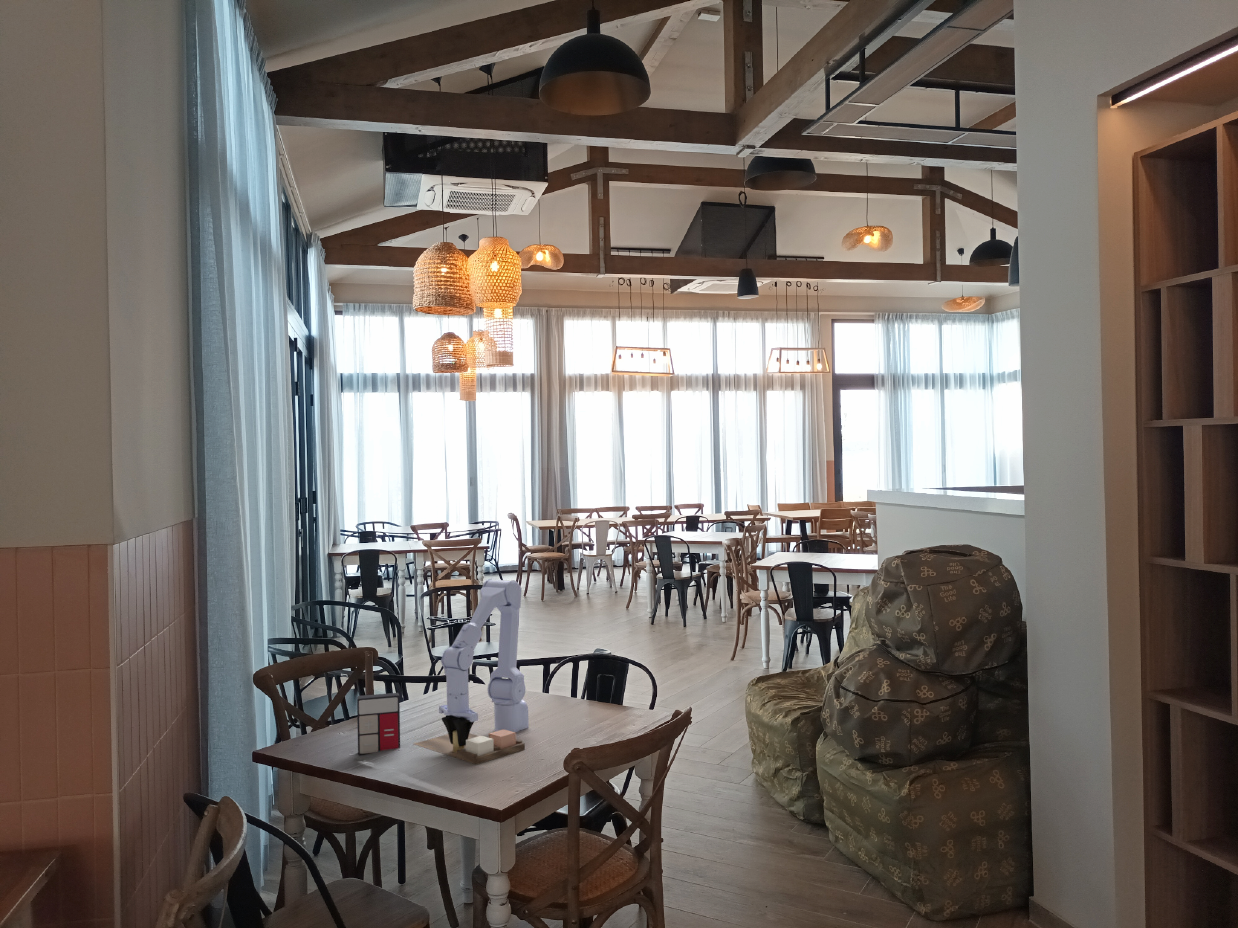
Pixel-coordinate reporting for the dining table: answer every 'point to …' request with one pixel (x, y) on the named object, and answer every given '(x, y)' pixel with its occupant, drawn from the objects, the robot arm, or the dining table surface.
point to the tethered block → (474, 745)
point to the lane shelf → (445, 747)
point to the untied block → (503, 738)
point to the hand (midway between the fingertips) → (458, 744)
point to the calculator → (378, 722)
